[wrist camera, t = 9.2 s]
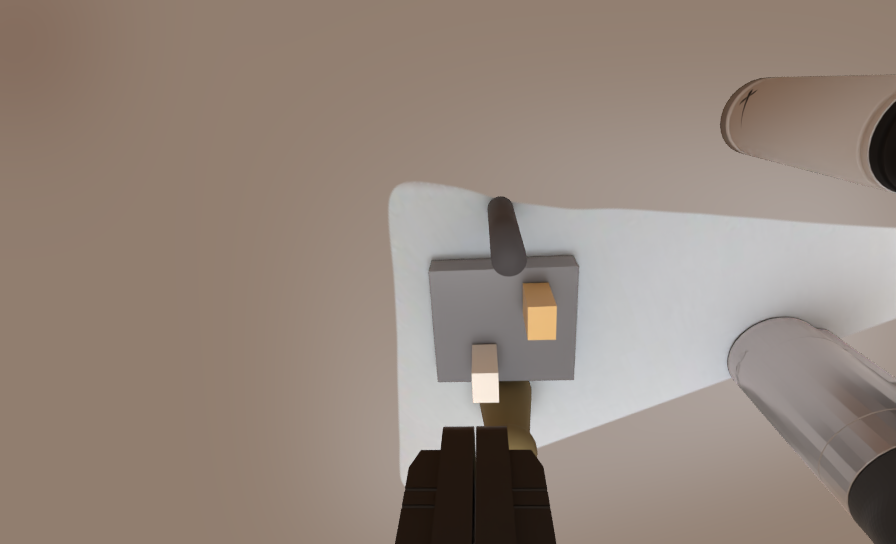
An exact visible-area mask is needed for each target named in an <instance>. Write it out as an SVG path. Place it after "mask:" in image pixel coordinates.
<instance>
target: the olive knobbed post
mask: <svg viewBox="0 0 896 544" xmlns="http://www.w3.org/2000/svg"><path fill="white" fill-rule="evenodd" d="M480 407H481V412H482V417H483V422H484V426H507V431H508V443H509V450H532V451H533V453H534V454H535V456H536V457H537V447H536V443H535V440H534V439H533V437H532V435H531V434H530V413H531V386H530V383H529V381H499V403H480Z"/></svg>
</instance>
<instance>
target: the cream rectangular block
mask: <svg viewBox="0 0 896 544" xmlns="http://www.w3.org/2000/svg"><path fill="white" fill-rule="evenodd" d="M472 392H473V403H499V379H498V361H497V346H496V344H483V345H472Z"/></svg>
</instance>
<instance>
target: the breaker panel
mask: <svg viewBox="0 0 896 544" xmlns="http://www.w3.org/2000/svg"><path fill="white" fill-rule="evenodd" d="M578 276H579V266H578V264H577V262H576V260H575V258H574V256H573V255H567V256H540V257H527V263H526V266H525V268H524V270H523V271H522V272H521V273H519V274H517V275H515V276H511V277H507V276H502V275H500V274H498V273H497V272H496V271H495V270H494V268H493V266H492V263H491V258H487V259H461V260H434V261H431V265H430V268H429V282H430V294H431V306H432V318H433V329H434V341H435V353H436V365H437V377H438V382H472V345H483V344H496V346H497V361H498V379H499V381H541V380H574V366H575V344H576V321H577V299H578ZM523 283H549V285H550V288H551V291H552V294H553V297H554V299H555V302H556V305H557V319H556V340H528V339H527V334H526V328H525V323H524V318H523Z"/></svg>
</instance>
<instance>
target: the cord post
mask: <svg viewBox="0 0 896 544" xmlns="http://www.w3.org/2000/svg"><path fill="white" fill-rule="evenodd" d="M488 221H489V235H490V249H491V263H492V266H493V268H494V270H495V271H496V272H497V273H498V274H500V275H502V276H507V277H511V276H515V275H517V274H519V273H521V272H522V271H523V270H524V268H525V266H526V263H527V256H526V252H525V248H524V245H523V241H522V238H521V234H520V230H519V227H518V223H517V220H516V216H515V212H514V209H513V205H512V203H511V201H510V200H509V199H507V198H505V197H496V198H494V199H492V200H491V201H490V203H489V205H488Z"/></svg>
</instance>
